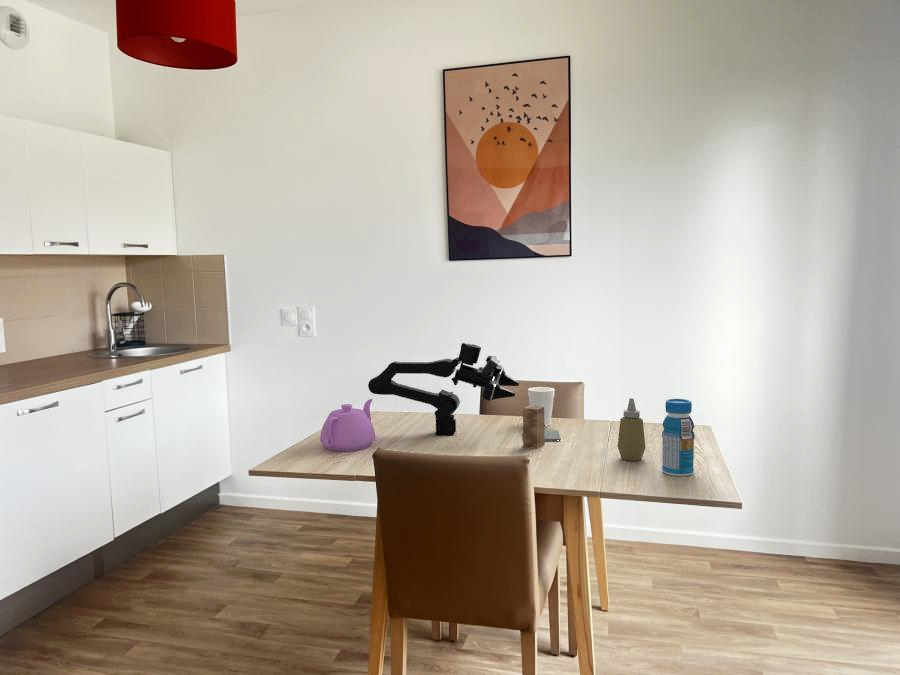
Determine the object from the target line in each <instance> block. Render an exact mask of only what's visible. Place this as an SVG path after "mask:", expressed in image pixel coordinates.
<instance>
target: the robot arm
mask: <svg viewBox="0 0 900 675" xmlns="http://www.w3.org/2000/svg"><path fill="white" fill-rule="evenodd" d="M481 350H482V347H481V346H479V345H477V344H475V343H474V344H471V343H465V342H462V343H461V344H460V351H459V354H458V356H457V357H455V358H453V359H451V358H443V359H439V360H437V359H436V360H433V361H427V362H426V361H425V362H424V361H421V362H419V361H409V362H408V361H392V362H391V363H389V364H388V365H387V367H386V368H385V369H384V370H382V372H381V373H379V375H376V376H374V377H373V378H371V379H370V380H369V381H368V385H367V387H368V390H369V392H370V393H371V394H373V395H384V396H386V395H387V396H388V395H389V396H390V395H391V396H396V397H401V398H404V399H408V400H412V401H415V402H419V403H423V404H427V405H429V406H432V407H434V408H435V409H436V410H435V411H434V416H435V433H434V435H436V436H454V435H455V433H456V432H457V419H456V418H455V414H454V413H455V411H456V410H457V409H458V408H459V406H460V403H461V400H460V398H459V397H458V395H457V394H455V393H454V391H447V390H445V389H441V390H440V391H439V392H433V391H428V390H424V389H420V388H416V387H413V386H408V385H405V384H402V383H398V382H396V381H395V380H392V379H393V378H394V377H395V376H396V375H397V374H405V375H406V374H410V375H411V374H417V375H418V374H428V375H432V376H436V377H441V378H449V377H450V376H452V375H453V374H454V377H451V381H452V382H453V385H454V387H455V386H457V385H458V384H459V382H462V383H466V384H469V385H473V386H472V388H477V387H479V388H482V389H484V390H483V392H482V393H483V394H482V398H483V400H484V401H487V402H491V401H494V400H497V399H498V400H499V399H505V398H514V397H515V396H516V392H514V391H512V390H510V389H507V388H505V387H518V386H519V385H520V381H519V382H518V381H517V380H516V379H514V378H513V377H511V376H510V375H508V374H507V373H506V371H505V368H504V367H503V365H500V364H499V363H500V360H499V359H498V358H497V356H495V355H487V357H486V358H485V362H486V364H485V365H484V366H483V367H482V366H480V367H478V368H475V367H473V366H474V364H477V363H478V360H479V357H480V354H481ZM459 365H460V366H459ZM458 366H459V368H457V367H458ZM502 386H503V387H502Z"/></svg>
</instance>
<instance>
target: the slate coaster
mask: <svg viewBox="0 0 900 675" xmlns="http://www.w3.org/2000/svg"><path fill="white" fill-rule="evenodd" d="M551 440H552V441H551ZM557 440H559V441H557ZM560 440H562V439H561V435H560V432H559V430H554V429H553V430H552V429H551V430H549V429H548V430H545V429H544V442H561V441H560Z"/></svg>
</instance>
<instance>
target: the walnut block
mask: <svg viewBox="0 0 900 675" xmlns="http://www.w3.org/2000/svg"><path fill="white" fill-rule="evenodd" d="M544 430H545V426H544V407H541V406H532V405H530V404H529V405H528V406H525V407H523V408H522V436H523V438H522V442H523V444H522V445H523V448H525V447H526V448H532V449H539V448H541V446H542V447H543V445H544V446H545V441H544Z"/></svg>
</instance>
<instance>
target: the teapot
mask: <svg viewBox="0 0 900 675" xmlns="http://www.w3.org/2000/svg"><path fill="white" fill-rule="evenodd" d="M372 402H373V398H369V399H368V400H366V401H365V403H364V405H363V409H361V408H353V404H350V403H346V404H342V405H341V408H339V409H338V408H337V409H334V410H332V411H330V413H329V414H328V416H327V418H326V419H325V421H324V423H323V425H322V427H321V430H320V436H319V441H320V443H321V444H322V446H323V447H324V448H325V449H327V450H328V451H331V452H354V451H356V452H357V451H361V450H365V449H367V448H369V447H371V445H372V444H373V442H374V441H375V439H376V432H375V428H374V426H373V423H372V417H371V409H370V408H371V404H372Z"/></svg>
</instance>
